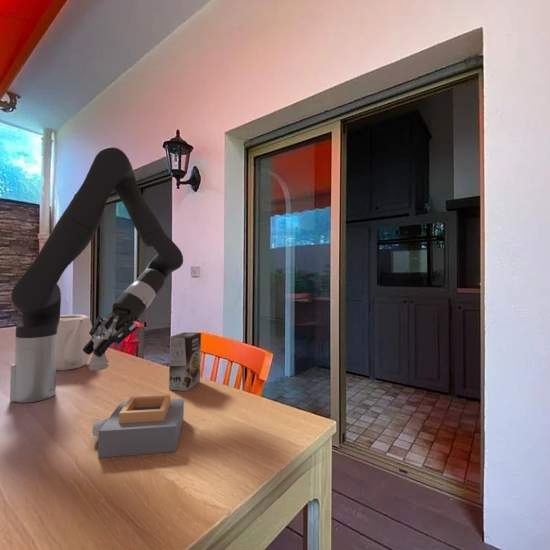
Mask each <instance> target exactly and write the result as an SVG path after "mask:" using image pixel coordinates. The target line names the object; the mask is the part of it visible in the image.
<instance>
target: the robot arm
mask: <svg viewBox="0 0 550 550" xmlns="http://www.w3.org/2000/svg"><path fill="white" fill-rule="evenodd" d="M133 169H134V168H133V167H132V163H131V161H130V159H129V157H128V155H126V153H125V152H124V151H123V150H122V149H120V148H119V147H114V146H109V147H105V148H103V149H101V150H100V151H99V152H98V153H97V154H96V155H95V156H94V159H93V161H92V164H91V165H90V168H89V170H88V172H87V173H86V176H85V178H84V180H83V183H82V184H81V186H79V189H78V190H77V192H76V193H75V195H74V196H73V197H72V199H71V200H70V202H69V204H68V206H66V208H65V210H64V211H63V213H62V214H61V216H60V218H59V219H58V220H57V222H56V224H55V225H54V228H53V229H52V231H51V233H50V234H49V236H48V238H47V239H46V241H45V242H44V244H43V246H42V248H41V250H40V251H39V253H38V255H37V256H36V258H35V259H34V261H33V262H32V263H31V265H30V266H29V267H28V269H27V270H26V271H25V272H24V273H23V274H22V276H21V277H20V278H19V279H18V280H17V282H16V283H15V285H14V286H13V288H12V290H11V296H10V297H11V302H12V304H13V306H14V307H15V308H16V309H18V310H19V311H22V312H21V313H22V315H21V318H20V321H19V322H18V324H17V325H16V327H15V339H14V342H15V343H14V352H15V353H14V364H12V365H11V366H10V382H9V383H10V385H9V387H10V388H9V389H10V391H9V402H16V403H19V404H23V403H33V402H35V403H36V402H39V401H40V402H41V401H44V400H47V399H49V398H52V397H54V396H55V395H56V393H57V392H56V389H57V383H56V382H57V370H56V351H57V327H58V324H59V320H60V315H61V307H62V305H61V304H62V303H61V302H62V301H61V300H62V293H61V289H60V286H59V284H58V282H59V281H60V279H61V277H62V275H63V273H64V272H65V271H66V269H67V268H68V267H69V265H71V264H72V263H73V261H75V259H77V258H78V257H79V256H80V255H81V254H82V253H83V252H84V250H86V248H87V246H89V244H90V242H91V241H92V239H93V237H94V236H95V235H96V233H97V231H98V229H99V227H100V225H101V222H102V218H103V215H104V212H105V208H106V204H107V201H108V199H109V197H110V196H111V194H112V192H113V191H114V192H115V193H116V195H118V197H119V199H120V200H121V202H122V203H123V205H124V207H125V209H126V212H127V213H128V217H130V220H131V222H132V224H133V226H134V228H135V230H136V232H137V233H138V235H139V237H140V239H141V241H142V242H143V244H144V246H146V247H148V248H154V250H155V251H156V253H157V254H156V255H155V256H154V257H153V258H152V259H151V260H150V261H149V263H148V264H147V265H146V267H145V269H144V270H143V272H141V273H140V274H139V275H138V277H137V278H136V279H135V280H134V281H133V282H132V283H131V284H130V285H129V286H128V287H127V288H126V289H125V290H124V291H123V292H122V293H121V295H120V296H119V297H118V298H117V299H116V300H115V301H114V302H113V304H112V306H111V307H112V311H111V312H110V313H109V314H107V316H106V317H102V316H97V318H96V319H95V321H94V323H93V325H92V328H91V330H90V332H89V334H90V335H91V336H92V339H91V340H90V341H89V342H88V343H87V344H86V346H85V347H84V348H83V351H84V352H85V353H86V354H88V355H92V354H93V353H94V354H95V355H96V356H97V357H101V356H102V355H103V354H104V353H105V354H106V352H107V350H108V349H109V348H110V346H112V345H114V344H120V343H122V342H123V341H124V340H125V339H127V338H128V337H129V336H130V335H131V334H132V333H134V332H135V331H136V330H137V329H138V328H139V327H138V325H137V324H136V323H135V322H137V321H138V320H139V319H140V318H141V317H142V316H143V314H144V313H145V312H146V310H147V309H148V308H149V307H150V305H151V304H152V302H153V301H154V299H155V297H156V296H157V295H158V294H159V292H160V291H161V290H162V288H163V287H164V285H165V282H166V281H165V280H166V279H167V277H168V276H169V275H170V274H172V273H174V272H175V271H176V270H179V269H180V268H181V267H183V266H182V265H183V263H184V256H183V253H182V251H181V249H180V248H179V247H178V246H177V244H176V243H175V242H174V241H173V240H172V239H171V238H170V237H169V235H167V233H166V232H165V230H164V227H162V225H161V223H160V221H159V219H158V218H157V215H156V214H155V213H154V211H153V210H152V208H151V206H150V205H149V203H148V202H147V200H146V199H145V197H144V195H143V194H142V192H141V190H140V187H139V185H138V182H137V180H136V176H135V174H134V171H133ZM98 335H100V337H101V335H105V340H104V339H103V340H102V341H101V342H100V343H99V345H98V346H97V347H96V348H95V350H94V347H93V345H94V342H93V341H92V340H93V338H94V336H97V337H98Z"/></svg>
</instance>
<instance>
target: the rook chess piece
mask: <svg viewBox="0 0 550 550" xmlns="http://www.w3.org/2000/svg"><path fill="white" fill-rule="evenodd" d="M100 336H101V337H100ZM103 339H104V340H105V335H102V334H101V335H98V337H97V336H94V338H93V340H92V341H93V342H94V345H93V347H94V350H95V348H96V347H97V346H98V345H99V343H100V342H101V341H102V340H103ZM108 363H109V360H108V359H107V356H106V352H105V353H104V354H103V355H102V356H101V357H97V356H96V355H95V354H94V353H93V352H92V357H91V358H90V360H89V362H88V365H89V366H88V367H87V368H88V370H90V371H103V370H106V369H107V368H108V367H109V364H108Z"/></svg>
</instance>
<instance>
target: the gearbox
mask: <svg viewBox="0 0 550 550" xmlns="http://www.w3.org/2000/svg"><path fill="white" fill-rule="evenodd" d="M184 404H185V399H184V398H172V399H171V395H170V394H168V395H167V394H166V395H165V394H164V395H163V394H162V395H146V396H143V395H142V396H131V397H130V398H129V399H128V400H126V401H120V402H119V404H118V405H117V407H116V408H115V409H114V411H112V413H111V415H110V416H109V417H108V418H104V419H95V421H94V423H93V426H92V435H93V437H98V439H97V440H98V441H97V442H98V443H97V444H98V447H97V449H98V450H97V453H98V454H97V459H98V458H99V459H102V458H113V457H125V456H135V455H136V456H139V455H150V454H162V453H163V454H164V453H176V450H177V448H178V443H179V439H180V435H181V431H182V426H183V423H184V414H185V411H184V409H185V408H184V407H185V405H184Z"/></svg>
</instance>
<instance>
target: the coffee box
mask: <svg viewBox="0 0 550 550" xmlns="http://www.w3.org/2000/svg"><path fill="white" fill-rule="evenodd" d="M201 343H202V333H201V332H181V333H178V334H175V335H172V336H170V341H169V369H168V370H169V371H168V372H169V375H168V376H169V377H168V390H172V391H173V390H174V391H181V392H188V391H189V390H191V389H192V388H194V387H195V386H196V385H198V384H199V383H200V382H201V359H202V358H201V354H202V353H201V352H202V350H201V348H202V344H201ZM197 383H198V384H197ZM193 386H194V387H193Z"/></svg>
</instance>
